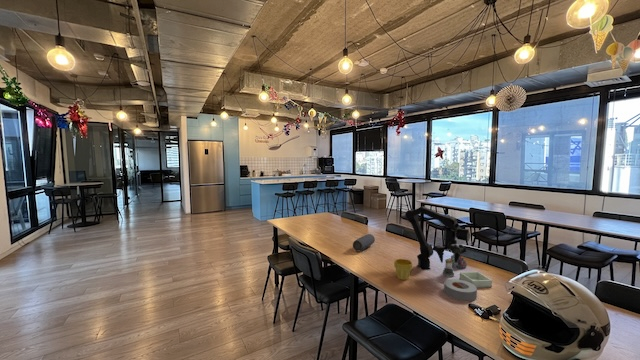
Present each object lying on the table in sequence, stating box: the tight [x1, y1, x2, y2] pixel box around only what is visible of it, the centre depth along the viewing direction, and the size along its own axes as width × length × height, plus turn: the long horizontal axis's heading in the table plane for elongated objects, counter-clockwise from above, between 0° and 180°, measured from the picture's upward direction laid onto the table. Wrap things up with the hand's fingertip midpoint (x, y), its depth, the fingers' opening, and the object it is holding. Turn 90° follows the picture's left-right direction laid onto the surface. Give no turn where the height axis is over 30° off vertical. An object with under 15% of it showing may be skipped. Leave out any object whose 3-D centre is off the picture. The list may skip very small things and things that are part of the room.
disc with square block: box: [442, 269, 455, 278], centre depth 166 cm, size 6×6×2 cm
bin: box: [459, 271, 493, 289], centre depth 155 cm, size 12×12×4 cm
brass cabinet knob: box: [443, 258, 454, 273], centre depth 165 cm, size 5×5×7 cm
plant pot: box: [393, 258, 413, 281], centre depth 161 cm, size 10×10×10 cm
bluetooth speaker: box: [352, 233, 376, 252], centre depth 212 cm, size 23×9×10 cm, turn 144°
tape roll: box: [443, 278, 478, 303], centre depth 142 cm, size 15×15×5 cm
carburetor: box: [448, 253, 468, 269], centre depth 180 cm, size 11×11×12 cm
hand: (448, 262), depth 165 cm, fingers open, 9 cm apart
